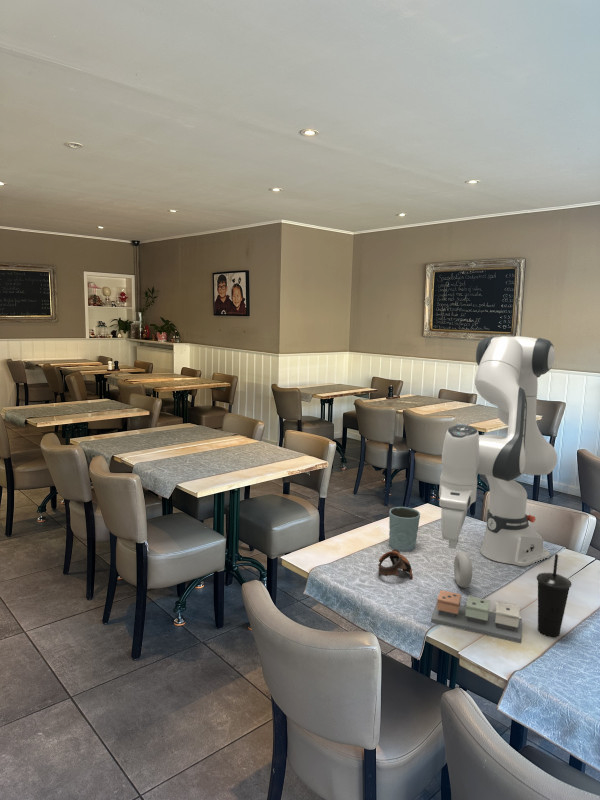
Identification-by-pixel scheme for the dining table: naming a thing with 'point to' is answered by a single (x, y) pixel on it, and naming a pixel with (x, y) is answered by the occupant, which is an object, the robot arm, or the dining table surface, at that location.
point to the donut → (463, 569)
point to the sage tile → (477, 608)
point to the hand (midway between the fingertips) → (453, 544)
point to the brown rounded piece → (394, 564)
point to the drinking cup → (551, 601)
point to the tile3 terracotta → (448, 602)
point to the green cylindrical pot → (403, 528)
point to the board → (478, 624)
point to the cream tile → (507, 614)
